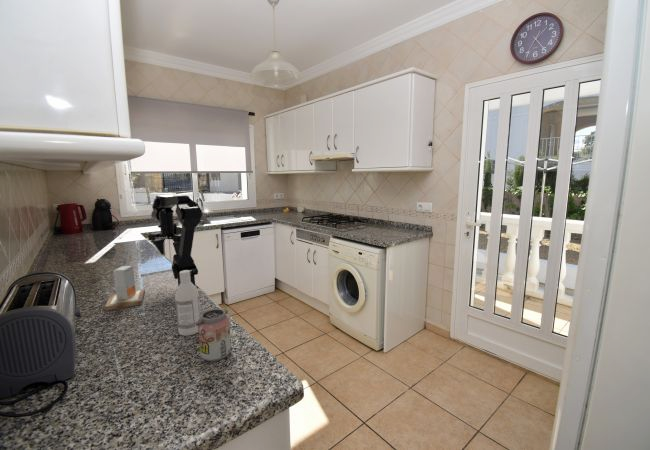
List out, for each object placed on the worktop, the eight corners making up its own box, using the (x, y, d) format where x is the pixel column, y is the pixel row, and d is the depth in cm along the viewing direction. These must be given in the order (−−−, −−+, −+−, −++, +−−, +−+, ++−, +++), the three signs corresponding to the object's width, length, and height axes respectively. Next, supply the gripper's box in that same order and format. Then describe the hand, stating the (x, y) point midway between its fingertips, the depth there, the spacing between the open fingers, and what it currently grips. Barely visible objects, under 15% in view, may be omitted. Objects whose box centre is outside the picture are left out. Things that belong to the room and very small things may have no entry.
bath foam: (191, 323, 102) (185, 267, 99) (206, 327, 99) (201, 269, 96) (173, 333, 96) (167, 273, 92) (189, 338, 93) (183, 276, 90)
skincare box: (127, 299, 119) (123, 270, 117) (116, 299, 119) (112, 270, 117) (136, 293, 125) (133, 265, 123) (126, 293, 125) (122, 265, 123)
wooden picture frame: (145, 292, 131) (144, 288, 131) (142, 304, 119) (141, 300, 118) (111, 297, 126) (111, 293, 125) (105, 310, 113) (104, 306, 113)
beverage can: (193, 353, 85) (189, 313, 83) (220, 341, 91) (217, 303, 89) (209, 367, 79) (205, 324, 77) (237, 352, 85) (234, 312, 83)
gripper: (195, 220, 143) (198, 252, 146) (165, 219, 149) (168, 249, 152) (177, 224, 133) (181, 258, 135) (145, 222, 139) (149, 255, 141)
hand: (170, 255), depth 141 cm, fingers open, 9 cm apart
